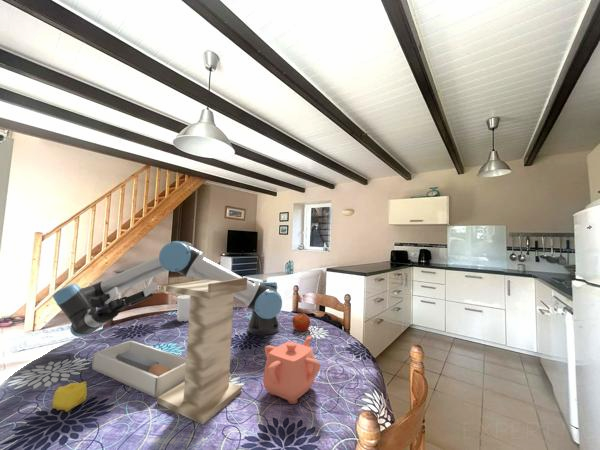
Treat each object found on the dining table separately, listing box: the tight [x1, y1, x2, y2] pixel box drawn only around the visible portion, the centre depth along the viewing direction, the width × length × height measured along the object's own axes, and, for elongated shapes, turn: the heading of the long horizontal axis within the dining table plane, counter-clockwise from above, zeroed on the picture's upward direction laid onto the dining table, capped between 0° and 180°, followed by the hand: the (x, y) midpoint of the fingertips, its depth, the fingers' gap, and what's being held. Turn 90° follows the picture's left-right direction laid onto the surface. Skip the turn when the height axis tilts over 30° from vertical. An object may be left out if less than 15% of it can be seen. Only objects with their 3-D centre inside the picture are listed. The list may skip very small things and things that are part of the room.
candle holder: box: [176, 294, 191, 322], centre depth 130 cm, size 10×10×12 cm
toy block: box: [51, 381, 88, 413], centre depth 61 cm, size 8×6×5 cm
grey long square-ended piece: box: [116, 352, 172, 376], centre depth 76 cm, size 24×3×3 cm, turn 66°
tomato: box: [292, 312, 311, 332], centre depth 119 cm, size 9×9×8 cm
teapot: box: [262, 334, 321, 405], centre depth 70 cm, size 17×16×13 cm
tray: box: [91, 340, 186, 399], centre depth 76 cm, size 32×12×5 cm, turn 65°
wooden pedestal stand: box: [156, 277, 248, 426], centre depth 66 cm, size 16×14×32 cm
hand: (137, 288), depth 80 cm, fingers open, 12 cm apart
